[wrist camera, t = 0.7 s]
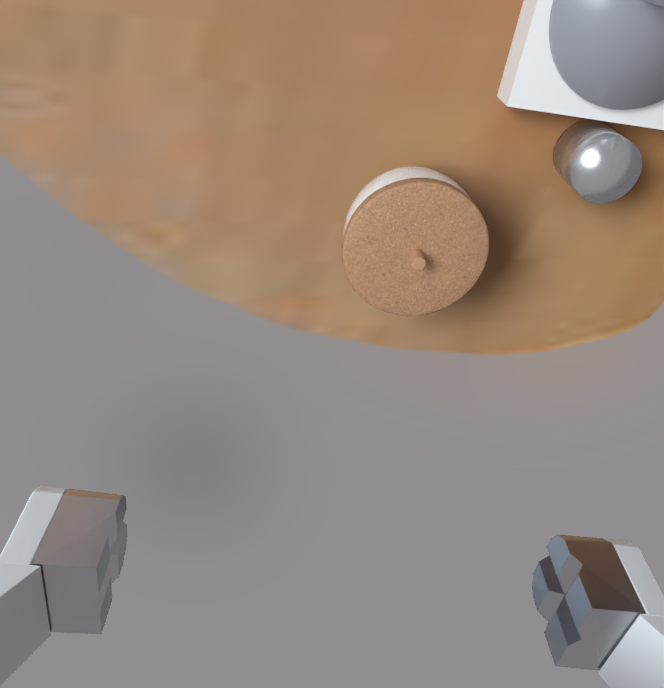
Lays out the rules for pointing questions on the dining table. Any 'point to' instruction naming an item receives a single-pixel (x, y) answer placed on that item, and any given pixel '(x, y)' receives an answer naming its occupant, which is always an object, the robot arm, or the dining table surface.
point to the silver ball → (655, 2)
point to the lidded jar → (413, 242)
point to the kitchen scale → (588, 61)
